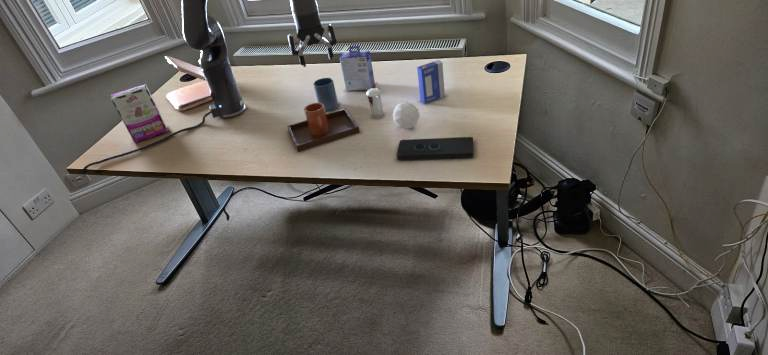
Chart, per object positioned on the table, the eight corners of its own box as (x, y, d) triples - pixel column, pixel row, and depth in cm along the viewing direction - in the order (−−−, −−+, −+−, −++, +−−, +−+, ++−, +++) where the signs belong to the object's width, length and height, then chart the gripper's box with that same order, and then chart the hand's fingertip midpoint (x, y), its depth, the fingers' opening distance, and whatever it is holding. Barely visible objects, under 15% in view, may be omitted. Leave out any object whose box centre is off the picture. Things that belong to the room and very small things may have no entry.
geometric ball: (402, 133, 141) (389, 110, 141) (425, 121, 140) (413, 97, 140) (398, 134, 134) (385, 109, 134) (423, 121, 132) (410, 96, 132)
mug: (308, 129, 145) (302, 106, 141) (326, 123, 147) (320, 100, 142) (314, 141, 139) (308, 117, 134) (333, 135, 140) (327, 111, 135)
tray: (298, 152, 136) (296, 146, 135) (289, 131, 147) (287, 125, 146) (360, 132, 140) (358, 126, 139) (346, 114, 151) (345, 108, 150)
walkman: (425, 104, 149) (421, 68, 142) (420, 101, 151) (416, 66, 144) (445, 96, 151) (443, 61, 145) (441, 93, 154) (438, 58, 147)
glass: (322, 113, 154) (315, 88, 149) (317, 105, 160) (311, 81, 154) (340, 107, 156) (335, 82, 151) (335, 100, 161) (330, 76, 156)
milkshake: (388, 111, 148) (383, 82, 143) (381, 120, 145) (376, 90, 139) (375, 110, 150) (370, 82, 145) (368, 118, 146) (362, 89, 141)
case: (233, 93, 179) (218, 53, 170) (178, 113, 171) (160, 72, 162) (216, 79, 194) (202, 41, 185) (165, 97, 185) (148, 59, 176)
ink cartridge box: (375, 83, 168) (369, 43, 160) (372, 89, 164) (365, 49, 155) (349, 84, 170) (341, 45, 162) (345, 91, 166) (337, 51, 158)
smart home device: (400, 139, 130) (473, 135, 126) (400, 144, 131) (473, 141, 127) (396, 155, 124) (473, 152, 120) (397, 161, 125) (473, 158, 121)
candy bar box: (166, 126, 163) (146, 83, 154) (168, 132, 159) (147, 87, 150) (133, 137, 160) (110, 94, 150) (134, 143, 156) (110, 99, 147)
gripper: (325, 2, 142) (336, 53, 152) (279, 13, 140) (293, 64, 149) (331, 7, 137) (342, 60, 146) (283, 19, 134) (297, 72, 143)
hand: (317, 62), depth 147 cm, fingers open, 8 cm apart
